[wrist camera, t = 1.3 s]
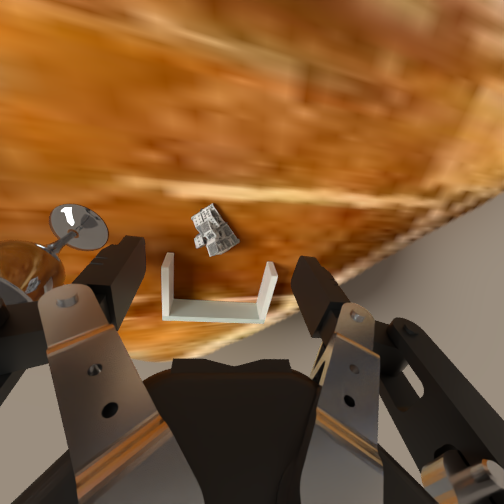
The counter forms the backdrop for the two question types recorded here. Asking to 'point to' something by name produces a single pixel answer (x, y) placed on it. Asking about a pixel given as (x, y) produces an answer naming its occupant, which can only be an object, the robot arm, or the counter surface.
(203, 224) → the house of cards
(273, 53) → the counter surface
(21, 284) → the wine glass
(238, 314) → the box
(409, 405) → the robot arm
